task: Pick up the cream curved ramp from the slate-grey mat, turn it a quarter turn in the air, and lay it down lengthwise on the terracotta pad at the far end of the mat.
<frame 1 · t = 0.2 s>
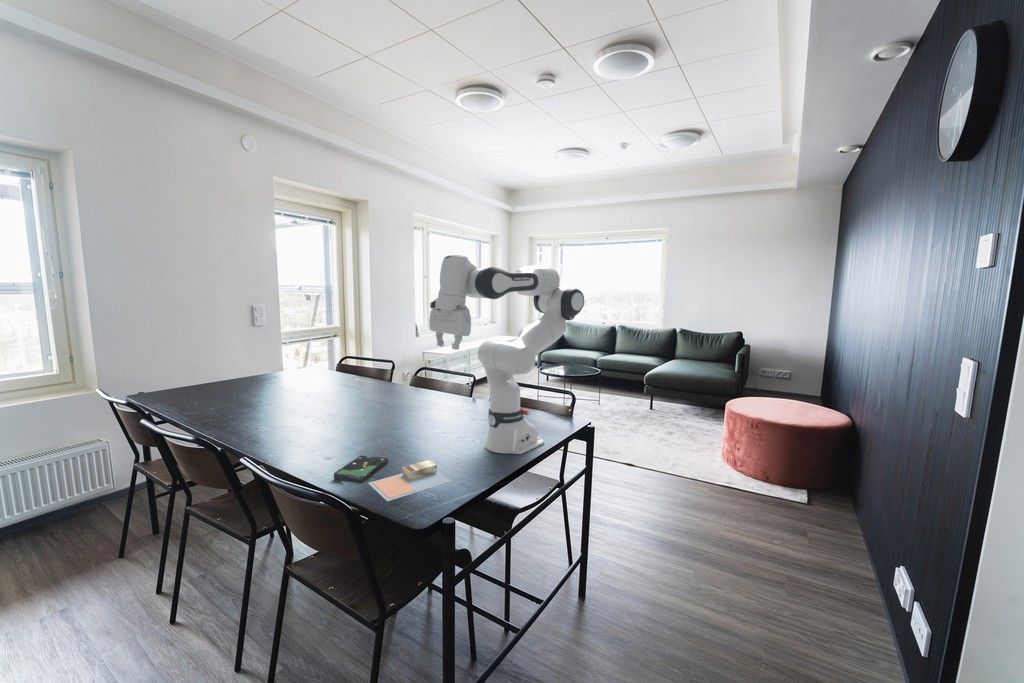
hand: (447, 347, 138), 39 cm above the table, tool pointing down, fingers open, 8 cm apart
disk drive: (362, 474, 134), on the table
cream curved ramp: (419, 473, 132), point 1 cm above the table, touching mat
mat: (410, 483, 126), on the table
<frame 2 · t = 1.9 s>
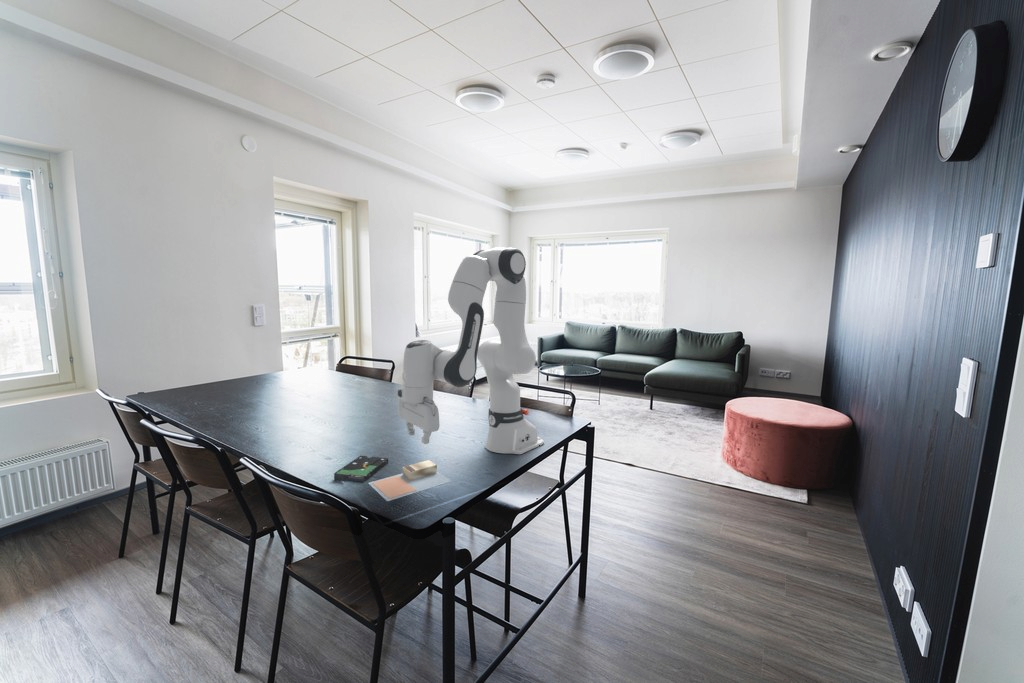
hand: (418, 438, 130), 12 cm above the table, tool pointing down, fingers open, 8 cm apart
nothing on the table moved.
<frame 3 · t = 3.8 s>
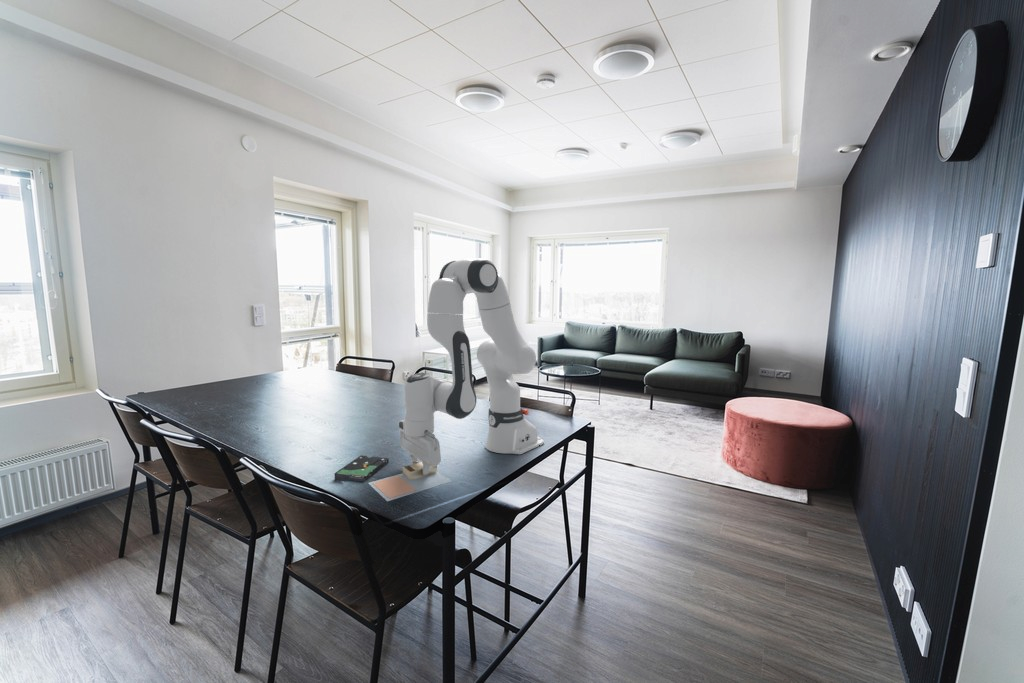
hand: (420, 470, 132), 2 cm above the table, tool pointing down, fingers closed on cream curved ramp, 5 cm apart
cream curved ramp: (419, 473, 132), point 1 cm above the table, touching gripper, mat
everything else where it was.
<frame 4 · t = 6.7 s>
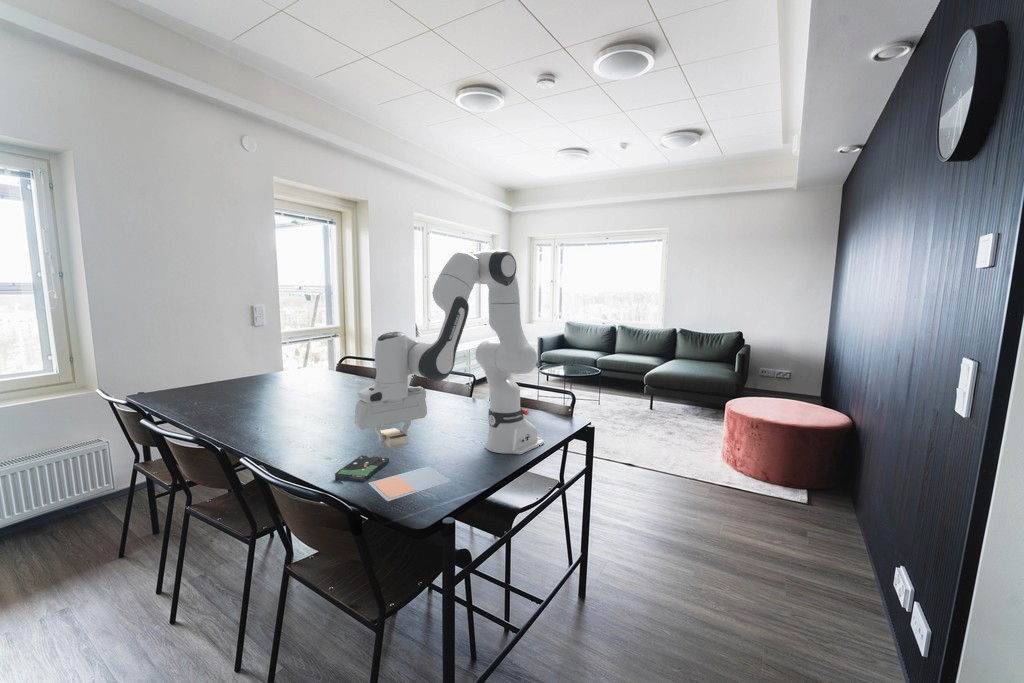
hand: (392, 438, 121), 15 cm above the table, tool pointing down, fingers closed on cream curved ramp, 5 cm apart
cream curved ramp: (393, 441, 121), point 14 cm above the table, touching gripper
everything else where it was.
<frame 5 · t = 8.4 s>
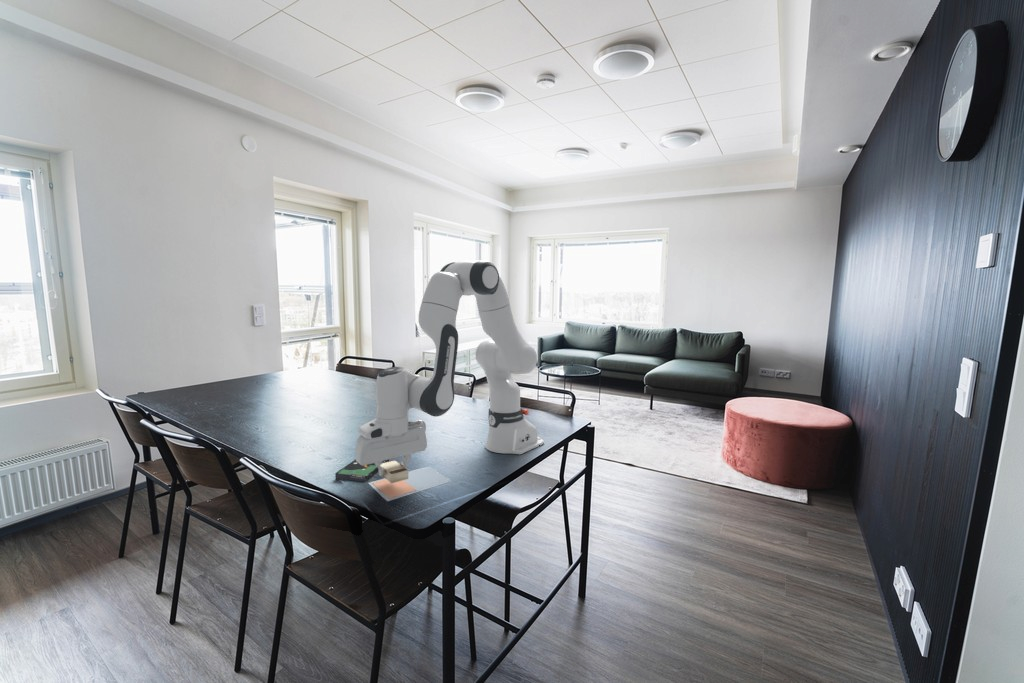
hand: (393, 471, 122), 5 cm above the table, tool pointing down, fingers closed on cream curved ramp, 5 cm apart
cream curved ramp: (393, 475, 122), point 4 cm above the table, touching gripper
everything else where it was.
when the fingers open (3 cm above the table, at t = 9.7 s): cream curved ramp drops 1 cm, resting on mat.
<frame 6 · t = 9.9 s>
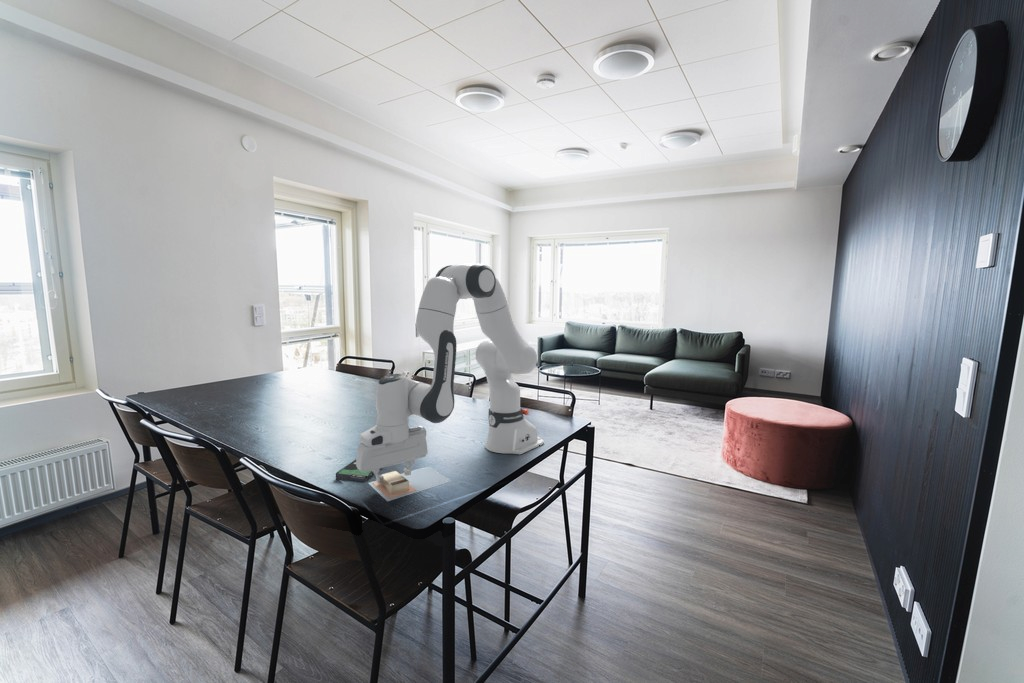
hand: (393, 478, 123), 3 cm above the table, tool pointing down, fingers open, 7 cm apart
cream curved ramp: (394, 486, 123), point 1 cm above the table, touching mat
everything else where it was.
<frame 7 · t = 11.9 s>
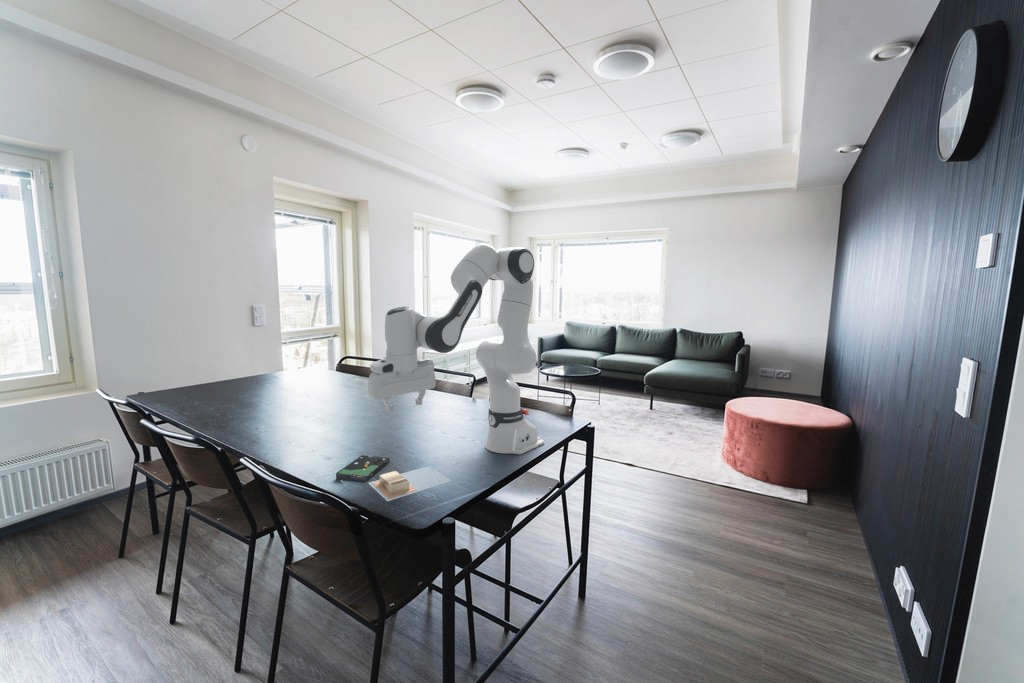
hand: (404, 407, 128), 22 cm above the table, tool pointing down, fingers open, 8 cm apart
nothing on the table moved.
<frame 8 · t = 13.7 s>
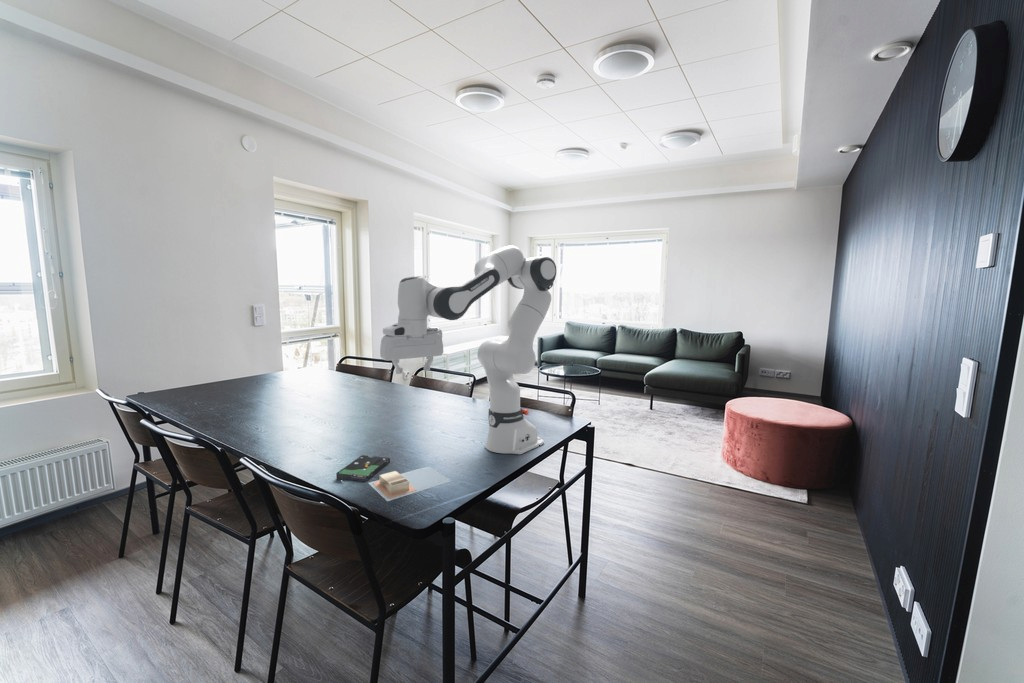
hand: (413, 371, 135), 31 cm above the table, tool pointing down, fingers open, 8 cm apart
nothing on the table moved.
at the end: cream curved ramp 0.0 cm from the target spot on the mat, point 0.7 cm above the mat's base; cream curved ramp tilted 0°; the gripper is holding nothing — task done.
